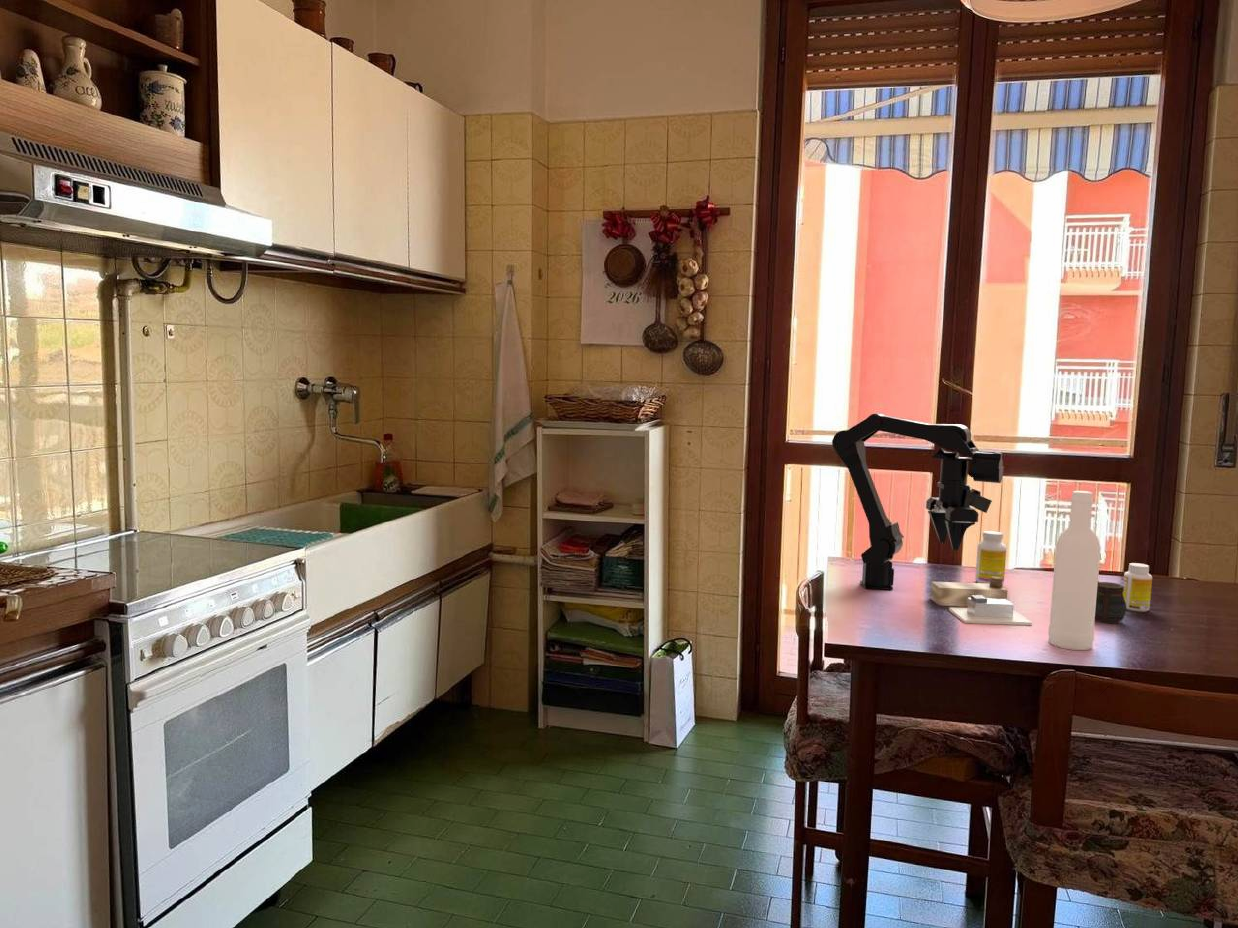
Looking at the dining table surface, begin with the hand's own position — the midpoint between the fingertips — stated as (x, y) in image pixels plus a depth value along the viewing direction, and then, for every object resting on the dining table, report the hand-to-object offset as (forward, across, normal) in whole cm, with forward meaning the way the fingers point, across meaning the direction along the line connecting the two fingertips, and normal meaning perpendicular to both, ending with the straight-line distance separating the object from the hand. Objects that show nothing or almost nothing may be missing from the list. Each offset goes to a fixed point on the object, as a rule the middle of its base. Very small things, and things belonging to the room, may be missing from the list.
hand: (948, 546), depth 213 cm
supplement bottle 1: (+12, +16, -16) cm, 26 cm away
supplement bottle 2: (+12, -5, -41) cm, 43 cm away
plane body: (+12, -5, -4) cm, 13 cm away
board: (+12, -17, -4) cm, 21 cm away
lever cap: (+11, -17, -4) cm, 21 cm away
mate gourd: (+12, -16, -29) cm, 35 cm away
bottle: (+12, -35, -13) cm, 39 cm away
